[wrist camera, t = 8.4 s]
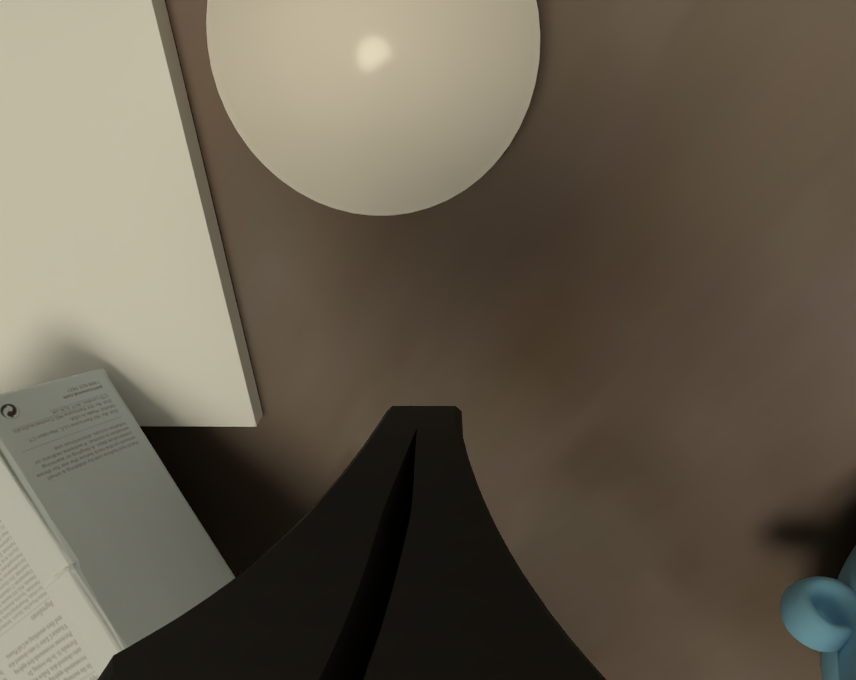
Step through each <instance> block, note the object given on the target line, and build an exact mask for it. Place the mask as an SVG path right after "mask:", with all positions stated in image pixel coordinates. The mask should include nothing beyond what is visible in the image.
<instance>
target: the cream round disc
mask: <svg viewBox="0 0 856 680" xmlns="http://www.w3.org/2000/svg"><path fill="white" fill-rule="evenodd" d="M206 27H207V45H208V51H209V57H210V63H211V69H212V72H213V76H214V79H215V83H216V86H217V90H218V93H219V95H220V97H221V100H222V102H223V105H224V107H225V109H226V112H227V114H228V116H229V117H230V119H231V121H232V123H233V125H234V126H235V128H236V130H237V132H238V133H239V135H240V136H241V137H242V139H243V140H244V142H245V143H246V144H247V146H248V147H249V149H250V150H251V151H252V152H253V153H254V155H255V156H256V157H257V158H258V159H259V160H260V161H261V162H262V163H263V165H264V166H265V167H267V168H268V169H269V170H270V171H271V172H272V173H273V174H274V175H276V176H277V177H278V178H279V179H280V180H281V181H283V182H284V183H286V184H287V185H289V186H290V187H291V188H293V189H294V190H296V191H297V192H299V193H301V194H303V195H305V196H306V197H308V198H310V199H312V200H314V201H316V202H319V203H321V204H324V205H326V206H329V207H331V208H334V209H338V210H342V211H346V212H350V213H355V214H363V215H371V216H389V215H399V214H406V213H412V212H416V211H419V210H423V209H427V208H430V207H432V206H435V205H437V204H440V203H442V202H444V201H447V200H449V199H450V198H452V197H454V196H456V195H457V194H459V193H461V192H463V191H464V190H466V189H467V188H468V187H470V186H471V185H472V184H473V183H475V182H476V181H477V180H479V179H480V178H481V177H482V176H483V175H484V174H485V173H486V172H487V171H488V170H489V169H490V168H491V167H492V166H493V165H494V164H495V163H496V162H497V161H498V159H499V158H500V157H501V155H502V154H503V153H504V152H505V150H506V149H507V148H508V146H509V145H510V143H511V141H512V140H513V138H514V136H515V135H516V133H517V131H518V130H519V128H520V126H521V123H522V121H523V119H524V117H525V114H526V112H527V110H528V107H529V104H530V101H531V98H532V94H533V91H534V87H535V84H536V78H537V72H538V66H539V57H540V25H539V12H538V7H537V2H536V0H208V2H207V18H206Z"/></svg>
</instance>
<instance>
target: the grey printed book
mask: <svg viewBox="0 0 856 680" xmlns="http://www.w3.org/2000/svg"><path fill="white" fill-rule="evenodd" d="M234 578H235V576H234V575H233V573H232V571H231V570H230V568H229V567H228V565H227V564H226V562H225V560H224V559H223V557H222V556H221V554H220V553H219V551H218V549H217V548H216V546H215V545H214V543H213V542H212V540H211V539H210V537H209V535H208V534H207V532H206V531H205V529H204V528H203V526H202V524H201V523H200V521H199V520H198V518H197V517H196V515H195V513H194V512H193V510H192V509H191V507H190V506H189V504H188V502H187V501H186V499H185V498H184V496H183V495H182V493H181V491H180V490H179V488H178V487H177V485H176V484H175V482H174V480H173V479H172V477H171V476H170V474H169V472H168V471H167V469H166V468H165V466H164V464H163V463H162V461H161V460H160V458H159V457H158V455H157V453H156V452H155V450H154V449H153V447H152V445H151V444H150V442H149V441H148V439H147V437H146V436H145V434H144V433H143V431H142V430H141V428H140V426H139V425H138V423H137V422H136V420H135V418H134V417H133V415H132V414H131V412H130V411H129V409H128V408H127V406H126V405H125V403H124V401H123V400H122V398H121V397H120V395H119V394H118V392H117V390H116V389H115V387H114V385H113V384H112V382H111V381H110V379H109V377H108V376H107V373H106V370H105V369H97V370H93V371H89V372H85V373H81V374H78V375H74V376H70V377H66V378H62V379H58V380H54V381H50V382H46V383H42V384H38V385H34V386H30V387H26V388H22V389H18V390H14V391H9V392H5V393H1V394H0V680H97V679H98V678H99V676H100V675H101V673H102V672H103V670H104V669H105V667H106V666H107V664H108V663H109V661H110V660H111V658H112V657H113V655H115V654H117V653H118V652H120V651H122V650H124V649H126V648H127V647H129V646H131V645H133V644H134V643H136V642H138V641H139V640H141V639H143V638H144V637H146V636H148V635H150V634H151V633H153V632H155V631H156V630H158V629H160V628H161V627H163V626H165V625H167V624H168V623H170V622H172V621H173V620H175V619H176V618H178V617H180V616H181V615H183V614H184V613H186V612H187V611H189V610H190V609H192V608H193V607H195V606H196V605H198V604H199V603H201V602H202V601H204V600H205V599H207V598H208V597H210V596H211V595H212V594H214V593H215V592H217V591H218V590H219V589H221V588H222V587H223V586H225V585H226V584H228V583H229V582H230V581H232V580H233V579H234Z"/></svg>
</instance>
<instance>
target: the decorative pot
mask: <svg viewBox="0 0 856 680" xmlns="http://www.w3.org/2000/svg"><path fill="white" fill-rule="evenodd" d="M780 614H781V619H782V621H783V623H784V625H785V627H786V629H787V630H788V631H789V632H790V634H791V635H792V636H793V637H794V638H795V639H797V640H798V641H799V642H801V643H802V644H803V645H805V646H807V647H809V648H811V649H814V650H817V651H820V666H821V672H822V679H823V680H856V545H855V546H854V548H853V550H852V551H851V553H850V554H849V556H848V558H847V559H846V561H845V563H844V565H843V567H842V569H841V572H840V574H839V576H838V579H837V580H836V579H834V578H829V577H820V576H815V577H808V578H805V579H802V580H799V581H797V582H795V583H793V584H792V585H790V586H789V587H787V588H786V589H785V591H784V593H783V595H782V598H781V604H780Z"/></svg>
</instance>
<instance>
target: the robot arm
mask: <svg viewBox="0 0 856 680" xmlns="http://www.w3.org/2000/svg"><path fill="white" fill-rule="evenodd" d="M97 680H606V679H605V678H604V677H603V676H602V674H601V673H600V672H599V671H598V670H597V669H596V668H595V667H594V666H593V664H592V663H591V662H590V661H589V660H588V659H587V658H586V657H585V655H584V654H583V653H582V652H581V651H580V649H579V648H578V647H577V646H576V645H575V644H574V642H573V641H572V640H571V639H570V638H569V636H568V635H567V634H566V633H565V631H564V630H563V629H562V627H561V626H560V625H559V624H558V622H557V621H556V620H555V619H554V617H553V616H552V615H551V613H550V612H549V611H548V609H547V608H546V606H545V605H544V603H543V602H542V600H541V599H540V598H539V596H538V595H537V593H536V592H535V590H534V589H533V588H532V586H531V585H530V583H529V582H528V580H527V579H526V577H525V576H524V574H523V573H522V571H521V570H520V568H519V566H518V565H517V563H516V561H515V560H514V558H513V556H512V555H511V553H510V551H509V549H508V548H507V546H506V544H505V542H504V540H503V539H502V537H501V535H500V533H499V531H498V529H497V527H496V525H495V523H494V521H493V519H492V517H491V515H490V513H489V510H488V508H487V506H486V504H485V501H484V499H483V497H482V495H481V492H480V490H479V487H478V485H477V482H476V479H475V476H474V473H473V470H472V468H471V465H470V462H469V459H468V455H467V452H466V448H465V443H464V439H463V431H462V411H461V410H459V409H458V408H457V407H456V406H392V407H391V408H390V409H389V410H388V411H387V412H386V413H385V415H384V417H383V418H382V420H381V421H380V423H379V424H378V426H377V427H376V429H375V430H374V432H373V433H372V434H371V436H370V437H369V439H368V440H367V442H366V443H365V444H364V446H363V447H362V448H361V450H360V451H359V453H358V454H357V455H356V456H355V458H354V459H353V460H352V462H351V463H350V464H349V465H348V467H347V468H346V469H345V471H344V472H343V473H342V474H341V476H340V477H339V478H338V479H337V480H336V482H335V483H334V484H333V485H332V486H331V487H330V488H329V490H328V491H327V492H326V493H325V494H324V495H323V496H322V498H321V499H320V500H319V501H318V502H317V503H316V504H315V506H314V507H313V508H312V509H311V510H310V511H309V512H308V513H307V514H306V515H305V516H304V517H303V518H302V519H301V520H300V521H299V522H298V523H297V524H296V525H295V526H294V527H293V528H292V529H291V530H290V531H289V532H288V533H287V534H286V535H285V536H284V537H283V538H282V539H281V540H279V541H278V542H277V543H276V544H275V545H274V546H273V547H272V548H270V549H269V550H268V551H267V552H266V553H265V554H263V555H262V556H261V557H260V558H259V559H258V560H256V561H255V562H254V563H253V564H252V565H250V566H249V567H248V568H247V569H246V570H244V571H243V572H242V573H241V574H239V575H238V576H237V577H236V578H234V579H233V580H232V581H230V582H229V583H228V584H226V585H225V586H223V587H222V588H221V589H219V590H218V591H217V592H215V593H214V594H212V595H211V596H210V597H208V598H207V599H205V600H204V601H202V602H201V603H199V604H198V605H196V606H195V607H193V608H192V609H190V610H189V611H187V612H186V613H184V614H183V615H181V616H180V617H178V618H176V619H175V620H173V621H172V622H170V623H168V624H167V625H165V626H163V627H161V628H160V629H158V630H156V631H155V632H153V633H151V634H150V635H148V636H146V637H144V638H143V639H141V640H139V641H138V642H136V643H134V644H133V645H131V646H129V647H127V648H126V649H124V650H122V651H120V652H118V653H117V654H115V655H113V657H112V658H111V660H110V661H109V663H108V664H107V666H106V667H105V669H104V670H103V672H102V673H101V675H100V676H99V678H98V679H97Z"/></svg>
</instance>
